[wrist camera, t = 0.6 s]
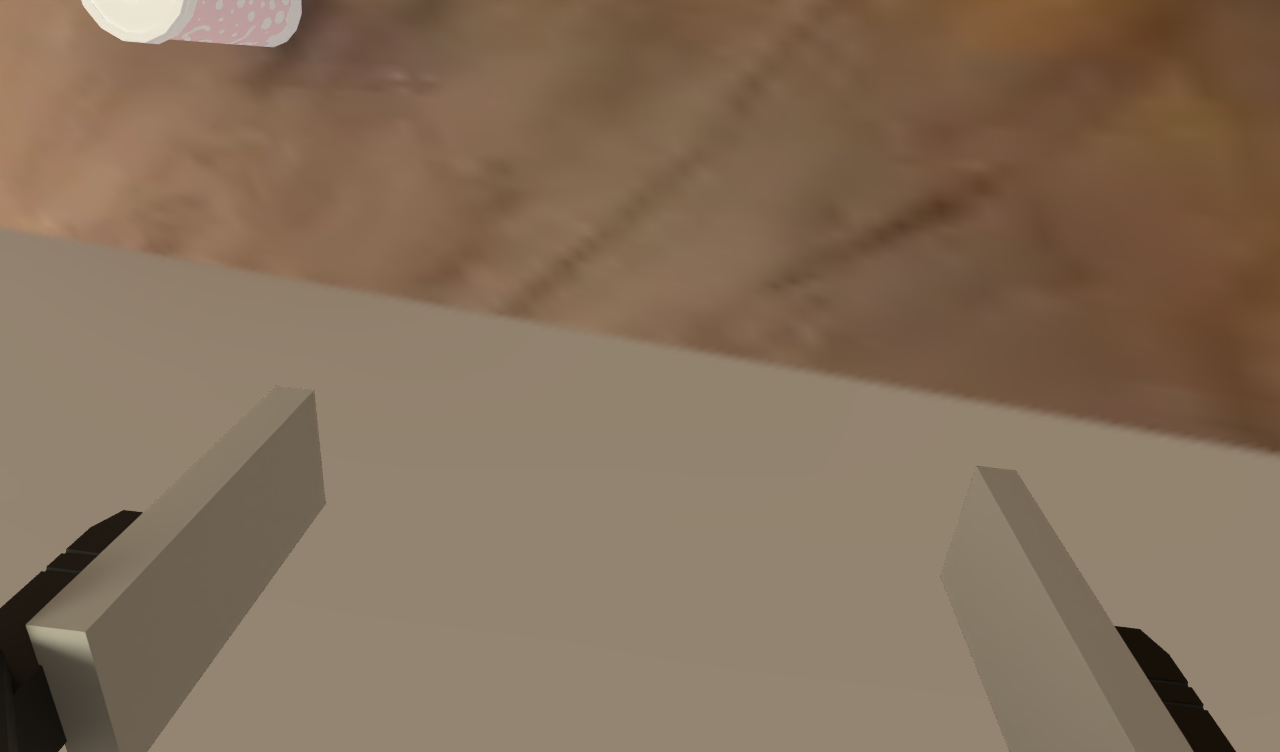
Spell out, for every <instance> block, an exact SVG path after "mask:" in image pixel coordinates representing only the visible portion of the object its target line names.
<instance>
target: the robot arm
mask: <svg viewBox="0 0 1280 752" xmlns="http://www.w3.org/2000/svg"><path fill="white" fill-rule="evenodd" d="M325 504H326V501H325V492H324V482H323V472H322V462H321V452H320V442H319V433H318V424H317V413H316V404H315V394H314V390H310V389H301V388H292V387H283V386H276V387H274V388H273V389H272V390H271V391H270V392H269V393H268V394H267V395H266V396H265V397H264V398H263V399H262V400H261V401H260V402H259V403H258V404H257V405H256V406H254V408H252V409H251V410H250V411H249V412H248V413H247V414H246V415H245V416H244V417H243V418H242V419H241V420H240V421H239V422H238V423H237V424H236V425H235V426H233V428H231V429H230V430H229V431H228V432H227V433H226V434H225V435H224V436H223V437H222V438H221V439H220V440H219V441H218V442H217V443H216V444H215V445H214V446H213V447H211V448H210V449H209V450H208V451H207V452H206V453H205V454H204V455H203V456H202V457H201V458H200V459H199V460H198V461H197V462H196V463H195V464H194V465H193V466H192V467H190V468H189V470H187V471H186V472H185V473H184V474H183V475H182V476H181V477H180V478H179V479H178V480H177V481H176V482H175V483H174V484H173V485H172V486H171V487H170V488H168V489H167V490H166V491H165V492H164V493H163V494H162V495H161V496H160V497H159V498H158V499H157V500H156V501H155V502H154V503H153V504H152V505H151V506H150V507H149V508H147V509H146V511H144V512H143V513H142V512H135V511H126V510H123V511H121V512H119V513H117V514H115V515H113V516H111V517H110V518H108V519H106V520H104V521H102V522H100V523H98V524H96V525H95V526H92V527H91V528H89V529H88V530H87V531H86V532H85V533H84V534H83V535H82V536H80V537H79V538H78V539H77V540H76V541H75V542H74V543H73V544H72V545H71V546H69V547H68V548H67V549H66V553H65V554H60V555H59V556H58V557H57V558H56V559H55V560H54V561H53V562H51V563H50V564H49V565H48V566H47V569H46V571H45V572H43V571H41V572H40V573H39V574H38V575H37V576H36V577H35V578H34V579H33V580H31V581H30V582H29V583H28V584H27V585H26V586H25V587H24V588H22V589H21V590H20V591H19V592H18V593H17V594H16V595H15V596H13V597H12V598H11V599H10V600H9V601H8V602H7V603H6V604H5V605H3V606H2V607H1V608H0V752H58V751H59V750H60V749H61V748H62V747H63V745H64V744H65V746H66V749H67V752H147V751H148V750H149V749H150V747H151V745H152V744H153V743H154V742H155V740H156V739H157V737H158V736H159V735H160V733H161V732H162V731H163V729H164V728H165V726H166V725H167V724H168V722H169V721H170V719H171V718H172V717H173V715H174V714H175V712H176V711H177V710H178V708H179V707H180V706H181V704H182V703H183V701H184V700H185V699H186V697H187V696H188V694H189V693H190V692H191V690H192V689H193V687H194V686H195V685H196V683H197V682H198V681H199V679H200V678H201V676H202V675H203V673H204V672H205V671H206V669H207V668H208V667H209V665H210V664H211V662H212V661H213V660H214V658H215V657H216V656H217V654H218V653H219V651H220V650H221V648H222V647H223V646H224V644H225V643H226V642H227V640H228V639H229V637H230V636H231V635H232V633H233V632H234V631H235V629H236V628H237V626H238V625H239V623H240V622H241V621H242V619H243V618H244V617H245V615H246V614H247V612H248V611H249V610H250V608H251V607H252V605H253V604H254V603H255V601H256V600H257V599H258V597H259V595H260V594H261V593H262V592H263V590H264V589H265V587H266V586H267V585H268V583H269V582H270V580H271V579H272V578H273V576H274V575H275V573H276V572H277V571H278V569H279V568H280V567H281V565H282V564H283V562H284V561H285V559H286V558H287V557H288V555H289V554H290V553H291V551H292V550H293V548H294V547H295V546H296V544H297V543H298V542H299V540H300V539H301V537H302V536H303V535H304V533H305V532H306V530H307V529H308V528H309V526H310V525H311V523H312V522H313V521H314V519H315V518H316V516H317V515H318V514H319V512H320V511H321V509H322V508H323V507H324V505H325ZM940 577H941V580H942V582H943V585H944V587H945V589H946V592H947V595H948V597H949V600H950V602H951V605H952V607H953V610H954V612H955V615H956V617H957V620H958V623H959V625H960V628H961V630H962V633H963V635H964V638H965V640H966V643H967V645H968V648H969V651H970V653H971V656H972V658H973V660H974V663H975V666H976V668H977V671H978V673H979V676H980V678H981V681H982V683H983V686H984V688H985V691H986V694H987V696H988V698H989V701H990V704H991V706H992V709H993V711H994V714H995V716H996V719H997V721H998V724H999V727H1000V729H1001V732H1002V734H1003V736H1004V739H1005V742H1006V744H1007V747H1008V749H1009V752H1236V751H1235V750H1234V748H1233V747H1232V746H1231V744H1230V742H1229V741H1228V740H1227V738H1226V737H1225V735H1224V734H1223V732H1222V731H1221V729H1220V728H1219V726H1218V725H1217V724H1216V722H1215V721H1214V719H1213V718H1212V716H1211V715H1210V714H1209V712H1208V711H1207V710H1204V709H1203V703H1202V702H1201V700H1200V699H1199V697H1198V696H1197V695H1196V693H1195V692H1194V690H1193V689H1192V688H1191V687H1188V681H1187V680H1186V678H1185V677H1184V676H1183V674H1182V673H1181V671H1180V670H1179V668H1178V667H1177V665H1176V664H1175V662H1174V661H1173V660H1172V658H1171V657H1170V655H1169V654H1168V653H1167V652H1166V651H1164V650H1163V649H1162V648H1161V647H1160V646H1159V645H1157V644H1156V643H1155V642H1154V641H1153V640H1152V639H1151V638H1149V637H1148V636H1147V635H1146V634H1145V633H1144V632H1142V631H1141V630H1140V629H1135V628H1126V627H1118V626H1114V625H1113V623H1112V622H1111V620H1110V619H1109V617H1108V615H1107V614H1106V612H1105V611H1104V609H1103V608H1102V606H1101V604H1100V603H1099V601H1098V600H1097V598H1096V596H1095V595H1094V593H1093V592H1092V590H1091V589H1090V587H1089V585H1088V584H1087V582H1086V581H1085V579H1084V577H1083V576H1082V575H1081V573H1080V571H1079V570H1078V568H1077V567H1076V565H1075V563H1074V562H1073V560H1072V558H1071V557H1070V556H1069V554H1068V552H1067V551H1066V549H1065V547H1064V546H1063V544H1062V543H1061V541H1060V540H1059V538H1058V536H1057V535H1056V533H1055V532H1054V530H1053V528H1052V527H1051V525H1050V524H1049V522H1048V521H1047V519H1046V518H1045V516H1044V514H1043V513H1042V511H1041V509H1040V508H1039V506H1038V505H1037V503H1036V502H1035V500H1034V498H1033V497H1032V495H1031V494H1030V492H1029V491H1028V489H1027V487H1026V486H1025V484H1024V483H1023V481H1022V479H1021V478H1020V476H1019V475H1018V473H1017V472H1016V471H1015V470H1005V469H997V468H989V467H980V466H976V469H975V472H974V475H973V478H972V481H971V484H970V488H969V490H968V493H967V496H966V499H965V503H964V506H963V509H962V512H961V515H960V518H959V521H958V524H957V527H956V530H955V533H954V536H953V539H952V542H951V545H950V548H949V551H948V554H947V557H946V560H945V563H944V567H943V570H942V573H941V575H940Z"/></svg>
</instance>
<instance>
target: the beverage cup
mask: <svg viewBox="0 0 1280 752" xmlns="http://www.w3.org/2000/svg"><path fill="white" fill-rule="evenodd" d="M81 1H82V3H83V6H84V7H85V9H86V10H87V11H88V12H89V14H90V15H91V16H92V17H93V18H94V20H95V21H96V22H97V23H98V25H99V26H100V27H101V28H102V29H104V30H106V31H107V32H109V33H111V34H112V35H114V36H116V37H117V38H119V39H121V40H122V41H130V42H141V43H154V44H160V43H162V42H164V41H166V40H169V39H173V40H186V41H199V42H212V43H225V44H238V45H251V46H264V47H275V46H278V45H280V44H282V43H285V42H287V41H288V40H289V38H290V37H291V36H292V35H293V34H294V32H295V31H296V30H297V27H298V24H299V21H300V18H301V14H302V7H301V0H81Z"/></svg>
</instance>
